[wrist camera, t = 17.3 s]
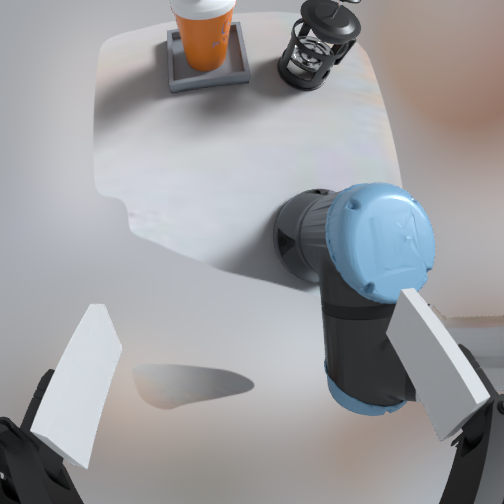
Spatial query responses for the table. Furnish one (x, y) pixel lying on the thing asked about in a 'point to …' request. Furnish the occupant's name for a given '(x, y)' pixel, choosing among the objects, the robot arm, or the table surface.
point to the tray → (226, 74)
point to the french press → (319, 41)
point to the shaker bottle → (204, 30)
